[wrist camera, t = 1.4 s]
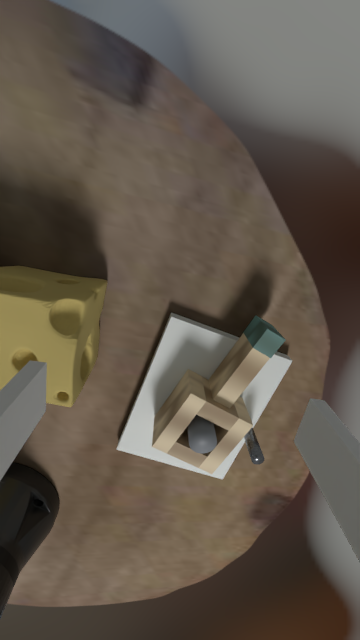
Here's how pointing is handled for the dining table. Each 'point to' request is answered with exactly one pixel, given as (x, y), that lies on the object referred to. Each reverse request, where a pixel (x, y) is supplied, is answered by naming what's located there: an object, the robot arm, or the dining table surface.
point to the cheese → (50, 327)
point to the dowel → (253, 447)
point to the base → (167, 370)
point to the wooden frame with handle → (216, 399)
